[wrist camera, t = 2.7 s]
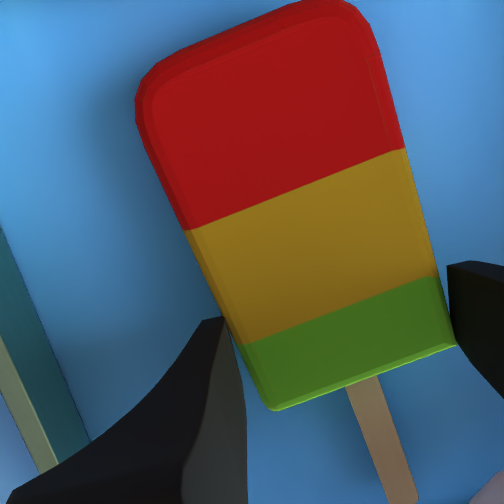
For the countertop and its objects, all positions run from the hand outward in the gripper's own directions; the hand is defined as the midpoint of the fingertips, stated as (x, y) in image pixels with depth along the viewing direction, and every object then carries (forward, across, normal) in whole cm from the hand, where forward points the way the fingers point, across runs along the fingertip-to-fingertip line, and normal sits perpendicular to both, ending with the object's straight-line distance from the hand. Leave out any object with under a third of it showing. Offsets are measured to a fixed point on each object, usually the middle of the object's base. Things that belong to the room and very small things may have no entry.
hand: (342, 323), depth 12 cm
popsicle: (+2, 0, 0) cm, 2 cm away
